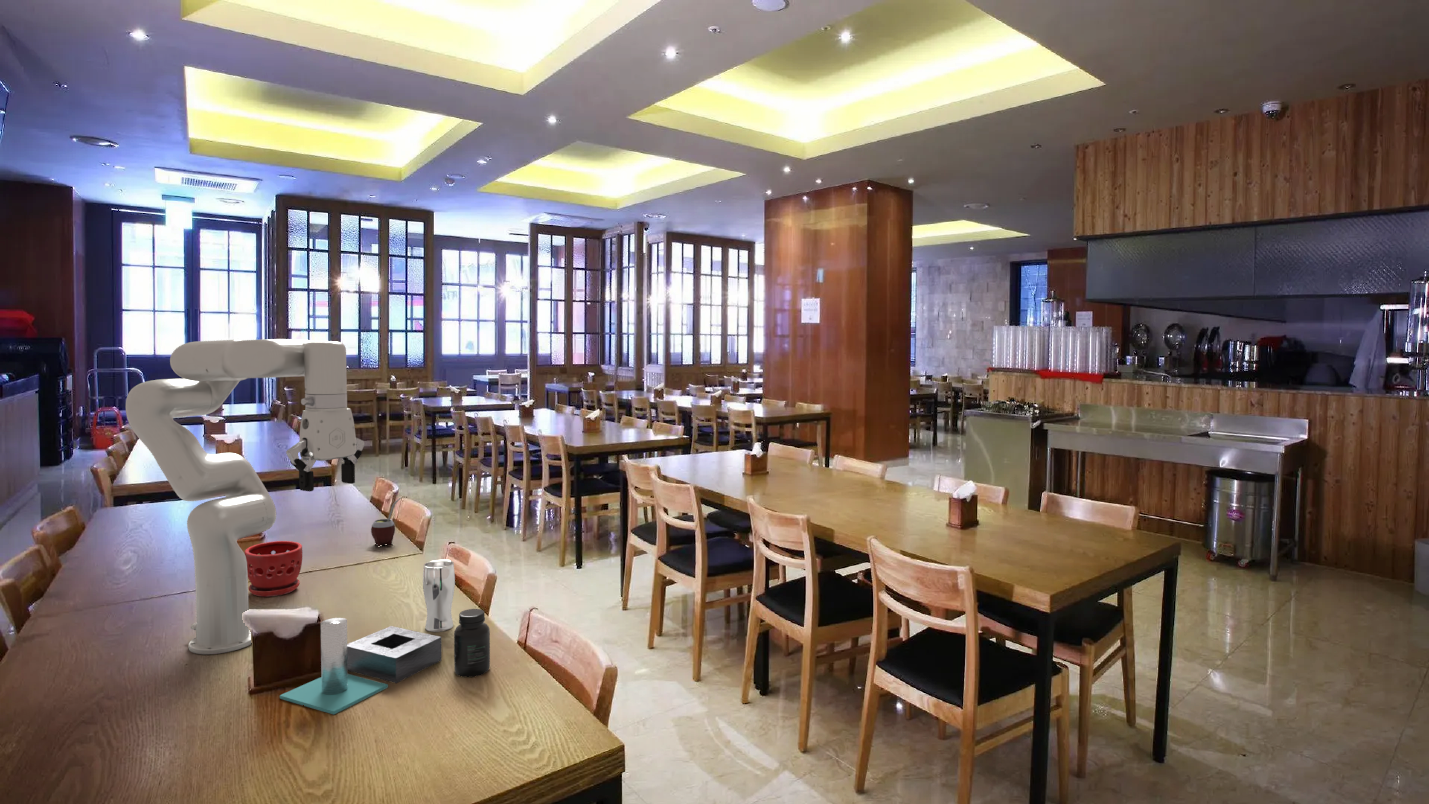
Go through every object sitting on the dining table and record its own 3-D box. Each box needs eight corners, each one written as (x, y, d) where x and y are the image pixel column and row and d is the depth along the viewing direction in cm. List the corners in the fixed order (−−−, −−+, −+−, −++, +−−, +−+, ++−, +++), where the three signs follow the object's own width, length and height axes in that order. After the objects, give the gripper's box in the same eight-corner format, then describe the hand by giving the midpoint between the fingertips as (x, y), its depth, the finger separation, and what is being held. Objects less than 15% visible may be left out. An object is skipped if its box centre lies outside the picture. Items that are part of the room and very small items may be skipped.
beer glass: (444, 634, 174) (444, 569, 173) (417, 631, 175) (416, 566, 174) (460, 623, 181) (460, 560, 179) (434, 620, 182) (433, 558, 181)
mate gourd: (366, 547, 245) (366, 500, 244) (381, 541, 253) (380, 496, 252) (388, 548, 244) (387, 502, 243) (402, 542, 252) (401, 497, 250)
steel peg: (316, 691, 143) (315, 623, 142) (336, 682, 147) (335, 616, 146) (333, 696, 141) (332, 627, 140) (353, 687, 145) (352, 620, 144)
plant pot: (233, 595, 197) (232, 550, 196) (279, 581, 209) (278, 538, 208) (269, 603, 192) (268, 556, 191) (314, 588, 204) (313, 543, 203)
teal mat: (279, 698, 141) (279, 695, 141) (335, 673, 152) (335, 670, 152) (333, 714, 136) (333, 711, 136) (387, 687, 147) (387, 684, 147)
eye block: (344, 669, 154) (343, 645, 154) (391, 648, 165) (391, 625, 165) (396, 683, 148) (395, 658, 148) (441, 660, 159) (441, 637, 159)
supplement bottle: (453, 666, 157) (452, 609, 156) (487, 661, 159) (487, 605, 158) (455, 680, 150) (455, 620, 149) (491, 674, 153) (491, 616, 152)
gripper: (300, 406, 145) (302, 495, 146) (374, 400, 161) (376, 481, 162) (273, 404, 148) (275, 492, 149) (349, 399, 164) (350, 478, 165)
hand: (328, 486), depth 156 cm, fingers open, 9 cm apart
